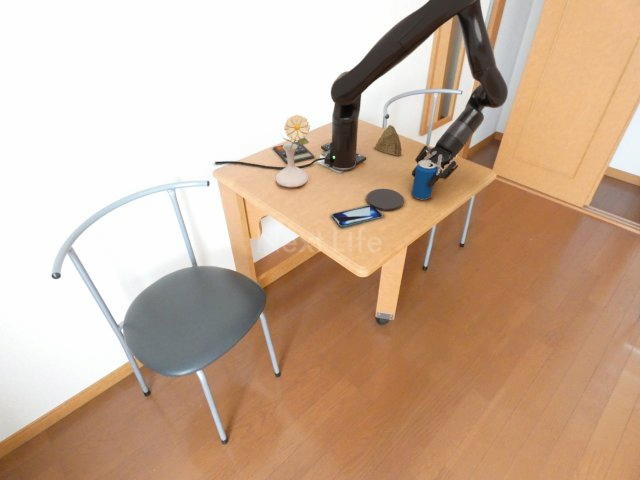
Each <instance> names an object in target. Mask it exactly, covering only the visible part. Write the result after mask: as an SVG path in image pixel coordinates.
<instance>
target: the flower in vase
mask: <svg viewBox="0 0 640 480" xmlns="http://www.w3.org/2000/svg"><path fill="white" fill-rule="evenodd" d="M309 123H310V122H309V120H308V118H306V117H305V116H303V115H300V114H297V113H296V114H295V115H292V116H290V117H288V118H287V119H286V121H285V123H284V124H285V125H284V127H283V131H284V132H285V134H286V137H287V138H284V137H282V139H283V140H285V141H287V142H289V143H285V144H282V145H283V149H284V150H285V151H286V154H287V159H288V164H286V166H285V167H286V168H284V169H280V171H279V172H278V173H277V174H276V177H275V181H276V182H277V184H278V185H279V186H281V187H284V188H290V189H291V188H298V187H301V186H303V185H305V184H306V183H307V181H308V180H309V176H308V173H306V171H304V170H303V169H302V168H298V167H296V166H297V165H296V164H295V163H294V153H295V150H296V149H297V147H298V146H297V145H296V144H294V143H295V142H299V144H301V145H303V146H304V145H307V144H310V141H309V140H308V139H307V137H308V133H309V132H310V128H311V125H310V124H309ZM288 138H289V139H288ZM290 139H291V140H293V141H291V140H290Z"/></svg>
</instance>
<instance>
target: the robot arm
mask: <svg viewBox="0 0 640 480" xmlns="http://www.w3.org/2000/svg"><path fill="white" fill-rule="evenodd" d="M454 17H457V20H458V23H459V27H460V30H461V36H462V40H463V46H464V50H465V55H466V59H467V63H468V67H469V71H470V75H471V77H472V79H473V80H474V81H476V82H478V83H479V85H478V86H477V87H475V88H474V90H473V91H472V93H471V94H470V96H469V98H468V100H467V101H466V104H465V105H464V109H463V110H462V111H461V113H460V114H459V115H458V116H457V118H456V119H455V120H454V121H453V122H452V123H451V124H450V125H449V126H448V128H447V129H446V130H445V131H444V133H443V134H442V135H441V136H440V138H439V139H438V140H437V141H436V143H435V146H433V147H432V148H430V147H428V145H424V146H423V147H422V149H421V150H420V152H419V153H418V154H417V156H416V158H415V159H414V161H415V162H416V164H418V163H419V161H421V160H431V161H430V162H433V163H434V164H435V163H436V172H435V175H433V176H432V177H431V178H430V180H429V181H428V182H427V185H428V186H429V187H431V186H433V187H434V186H435V184H436V183H437V182H438V181H439V180H440V179H442V180H447V179H448V178H449V177H450V175H452V173H454V172H455V171H456V170H457V168H458V167H459V164H458V163H457V162H456V161H455V160H454V158H456V157H457V156H458V154H459V153H460V152H461V151H462V149H463V148H464V147H465V146H466V145H467V143H468V142H469V141H470V139H471V138H472V136H473V135H474V133H475V132H476V131H477V130H478V129H479V128H480V126H481V125H482V124H483V122H484V120H485V115H484V113H483V110H484V109H485V108H490V109H497V108H498V109H499V108H501V107H502V106H504V105H505V103H506V102H507V99H508V96H509V89H508V85H507V82H506V81H505V79H504V77H503V75H502V73H501V71H500V70H499V68H498V65H497V61H496V57H495V53H494V49H493V45H492V42H491V38H490V35H489V32H488V29H487V25H486V23H485V19H484V15H483V10H482V3H481V0H428V1H427V2H425V3H424V4H423V5H422V6H420V7H419V8H418V9H416V10H414V11H413V12H412V13H410V14H408V15H407V16H405V17H404V18H402V19H401V20H400V21H398V22H396V23H395V24H394V25H393V26H392V27H391V28H390V29H389V30H388V31H387V32H386V33H384V34H383V35H382V37H380V38H379V39H378V41H377V42H376V43H375V44H374V45H373V46H372V47H371V48H370V49H369V50H368V52H367V53H366V54H365V55H364V57H363V58H362V59H361V60H360V62H358V63H357V64H356V65H355V66H354V67H352V68H351V69H350V70H349V71H348V70H347V71H346V70H345V71H343V72H341V73H340V74H339V75H338V76H337V77H336V79H335V80H334V81H333V83H332V85H331V87H330V99H331V101H332V102H333V103H334V105H333V111H332V115H331V142H330V143H329V152H327V154H326V156H324V157H320V158H319V157H318V158H316V159H314V160H312V161H311V162H310V163H307V164H303V165H295V166H296V167H298V168H300V169H302V168H307V167H309V166H312V165H314V164H315V163H316V162H319V161H324V162H323V163H324V165H329V167H330V168H333V169H334V170H336V171H340V172H348V171H352V170H354V169H355V168H356V166H357V146H358V145H357V144H358V133H359V132H358V131H359V130H358V129H359V117H360V113H361V103H362V94H363V93H364V92H365V91H366V90H368V88H369V87H370V86H371V85H372V84H374V83H375V82H376V81H377V80H379V79H380V78H381V77H383V76H384V75H386V74H387V73H388V72H390V71H392V70H393V69H394V68H396V67H397V65H400V63H402V62H403V61H405V59H406V58H408V57H409V56H410V55H412V54H413V53H414V52H415V51H416V50H417V49H418V48H419V47H420V46H421V45H423V44H424V43H425V42H426V41H427V40H428V39H429V38H430V37H431V36H432V35H433V34H434V33H435V32H436V31H437V30H438V29H440V28H441V27H442V26H443V25H444V24H446V23H447V22H448V21H450V20H451V19H453V18H454ZM214 163H215V164H217V165H218V164H237V165H238V164H240V165H246V166H252V167H258V168H259V167H260V168H265V169H273V170H274V169H275V170H283V169H284V168H286V167H287V166H273V165H271V166H270V165H263V164H258V163H251V162H245V161H244V162H243V161H233V160H230V161H229V160H225V161H224V160H223V161H222V160H221V161H215V162H214ZM415 172H416V166H415V168H414V169H413V170H412V171H411V176H412V177H413V178H414V177H415Z"/></svg>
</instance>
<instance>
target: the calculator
mask: <svg viewBox="0 0 640 480" xmlns="http://www.w3.org/2000/svg"><path fill="white" fill-rule="evenodd" d="M294 144H296V145H297V146H298V147H297V149H296V150H295V153H294V164H295V163H299V162H303V161H307V160H312V159H314V158H315V156H314V154H313V153H311V151H310V150H308V149H307V147H306V146H304V145H301V144H299V142H298V141H295V143H294ZM283 145H284V144H281V145H277V146H273V150H274V152H275V153H276V154H277V155H278V156H279V157H280V158H281V159H282V160H283V161H284V163H285V164H286V165H288V159H287V154H286V151H285V150H284V149H283Z"/></svg>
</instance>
